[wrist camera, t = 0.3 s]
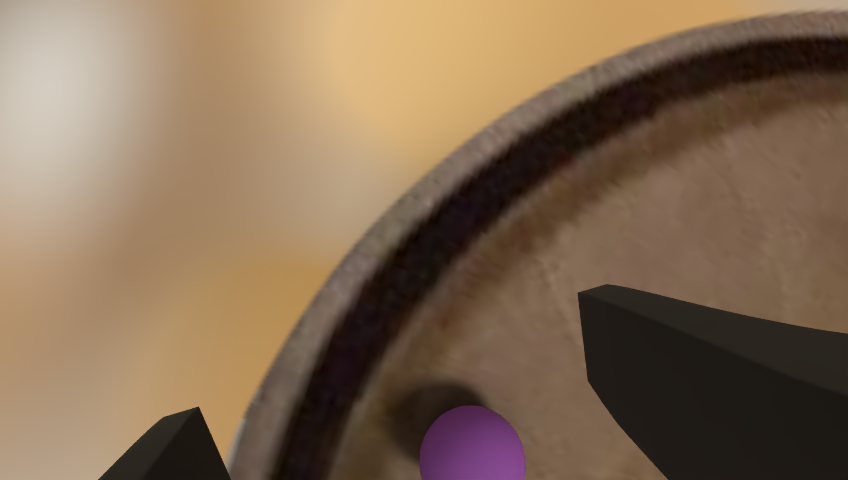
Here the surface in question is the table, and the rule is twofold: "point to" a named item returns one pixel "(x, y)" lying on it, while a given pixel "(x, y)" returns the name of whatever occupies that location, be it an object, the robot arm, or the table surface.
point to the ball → (471, 447)
